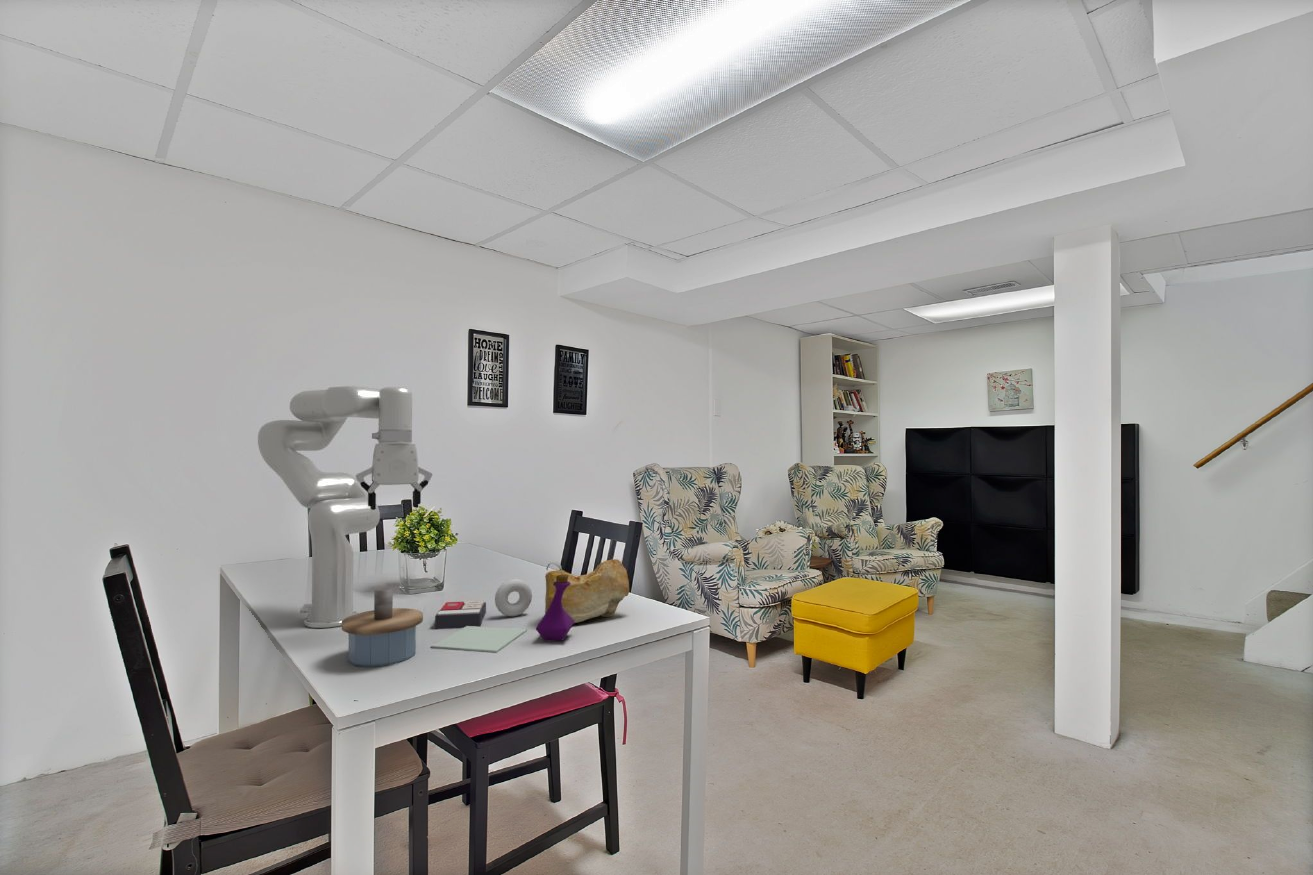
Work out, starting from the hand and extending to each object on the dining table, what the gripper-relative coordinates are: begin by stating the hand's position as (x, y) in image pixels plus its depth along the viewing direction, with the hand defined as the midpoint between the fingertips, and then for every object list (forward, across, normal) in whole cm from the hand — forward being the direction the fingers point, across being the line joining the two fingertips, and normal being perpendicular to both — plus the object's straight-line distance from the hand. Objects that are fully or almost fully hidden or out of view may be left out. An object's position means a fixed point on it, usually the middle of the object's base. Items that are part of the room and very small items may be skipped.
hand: (394, 508), depth 147 cm
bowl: (+30, -5, -16) cm, 35 cm away
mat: (+30, +16, -16) cm, 38 cm away
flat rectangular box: (+31, +17, +3) cm, 35 cm away
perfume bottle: (+31, +31, -25) cm, 50 cm away
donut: (+31, +30, -1) cm, 43 cm away
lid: (+23, -5, -16) cm, 29 cm away
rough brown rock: (+31, +45, -11) cm, 56 cm away
